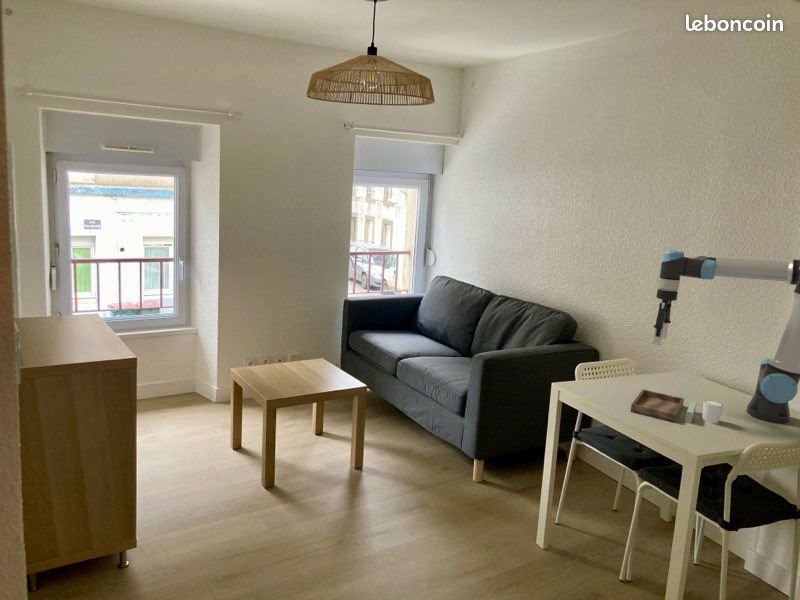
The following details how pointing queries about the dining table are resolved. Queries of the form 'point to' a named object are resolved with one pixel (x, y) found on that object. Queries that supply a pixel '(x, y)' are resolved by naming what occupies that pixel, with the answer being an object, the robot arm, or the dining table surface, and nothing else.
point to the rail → (690, 411)
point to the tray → (657, 405)
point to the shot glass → (712, 411)
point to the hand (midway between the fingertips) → (659, 341)
